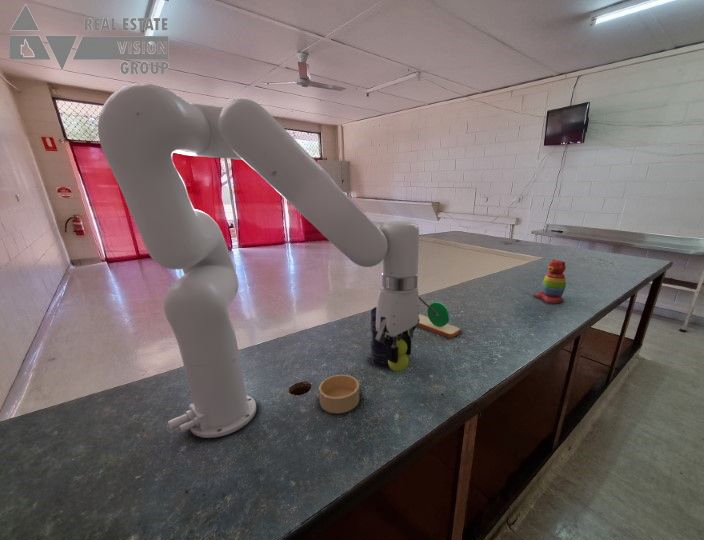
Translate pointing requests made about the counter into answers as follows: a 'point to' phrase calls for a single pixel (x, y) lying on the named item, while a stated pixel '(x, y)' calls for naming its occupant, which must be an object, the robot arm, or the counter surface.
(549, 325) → the counter surface
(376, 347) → the storage jar
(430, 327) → the crank mechanism
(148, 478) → the counter surface
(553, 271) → the stacking bear
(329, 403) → the bowl
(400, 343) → the pear plush
